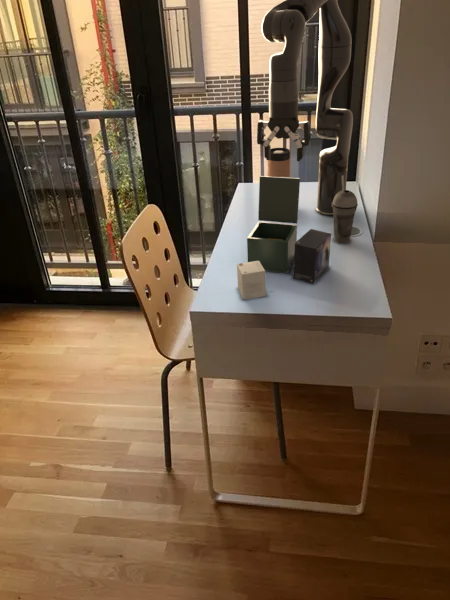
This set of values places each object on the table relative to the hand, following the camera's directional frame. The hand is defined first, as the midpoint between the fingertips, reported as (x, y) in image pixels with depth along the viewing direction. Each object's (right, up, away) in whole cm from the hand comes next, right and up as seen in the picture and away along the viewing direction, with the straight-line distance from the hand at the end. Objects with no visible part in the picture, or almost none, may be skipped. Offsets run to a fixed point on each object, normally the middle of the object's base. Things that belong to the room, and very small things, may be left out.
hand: (283, 160), depth 140 cm
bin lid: (-1, -11, +1) cm, 11 cm away
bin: (-3, -28, +4) cm, 28 cm away
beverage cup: (+19, -21, +13) cm, 31 cm away
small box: (+7, -32, -3) cm, 33 cm away
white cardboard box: (-9, -37, -10) cm, 39 cm away
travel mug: (+3, -6, +38) cm, 39 cm away
